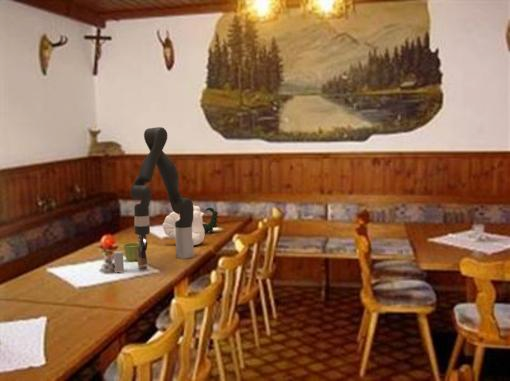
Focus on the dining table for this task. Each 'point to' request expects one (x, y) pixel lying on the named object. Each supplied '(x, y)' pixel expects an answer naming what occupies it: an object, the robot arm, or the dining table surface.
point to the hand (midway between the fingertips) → (143, 257)
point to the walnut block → (141, 260)
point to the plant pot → (131, 251)
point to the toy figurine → (213, 222)
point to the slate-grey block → (118, 261)
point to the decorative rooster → (196, 225)
